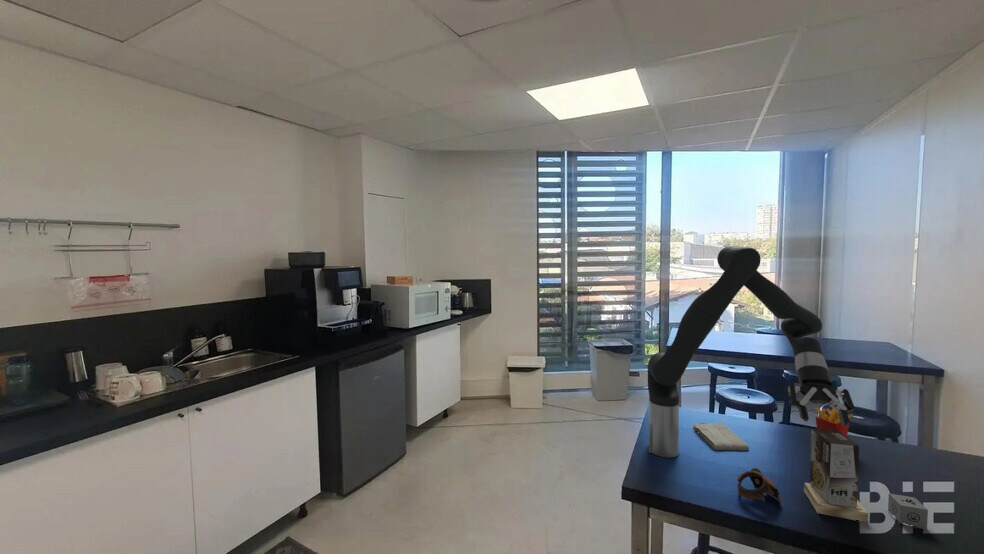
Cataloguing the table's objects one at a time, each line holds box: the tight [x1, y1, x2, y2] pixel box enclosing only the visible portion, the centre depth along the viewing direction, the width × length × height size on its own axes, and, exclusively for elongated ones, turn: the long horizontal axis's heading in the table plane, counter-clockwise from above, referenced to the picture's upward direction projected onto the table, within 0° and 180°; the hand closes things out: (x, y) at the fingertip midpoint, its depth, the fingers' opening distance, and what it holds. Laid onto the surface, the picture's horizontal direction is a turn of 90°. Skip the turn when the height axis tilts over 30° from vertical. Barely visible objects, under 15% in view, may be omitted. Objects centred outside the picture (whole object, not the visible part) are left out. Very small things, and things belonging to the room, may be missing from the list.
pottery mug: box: [737, 467, 783, 507], centre depth 107 cm, size 12×10×8 cm
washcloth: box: [692, 422, 750, 451], centre depth 141 cm, size 12×18×3 cm, turn 178°
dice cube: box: [887, 493, 929, 530], centre depth 97 cm, size 5×5×5 cm
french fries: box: [814, 407, 854, 437], centre depth 131 cm, size 9×8×15 cm
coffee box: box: [809, 428, 860, 507], centre depth 103 cm, size 9×6×16 cm
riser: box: [803, 481, 869, 523], centre depth 103 cm, size 10×10×3 cm
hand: (825, 422), depth 108 cm, fingers open, 8 cm apart
